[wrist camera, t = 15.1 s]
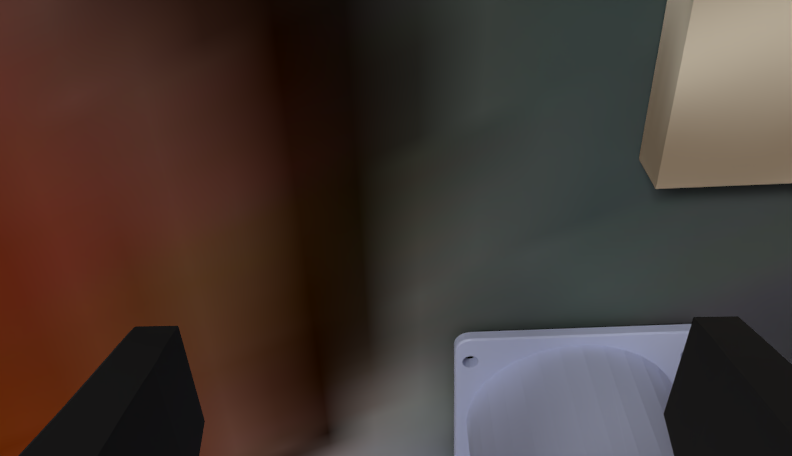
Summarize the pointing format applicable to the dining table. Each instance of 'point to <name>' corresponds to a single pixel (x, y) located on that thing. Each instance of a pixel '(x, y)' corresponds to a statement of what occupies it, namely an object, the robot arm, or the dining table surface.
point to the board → (721, 95)
